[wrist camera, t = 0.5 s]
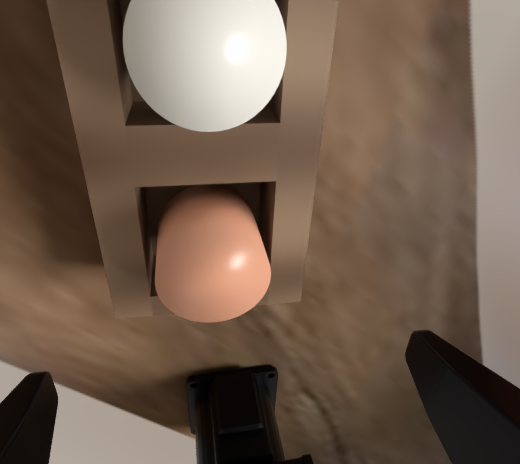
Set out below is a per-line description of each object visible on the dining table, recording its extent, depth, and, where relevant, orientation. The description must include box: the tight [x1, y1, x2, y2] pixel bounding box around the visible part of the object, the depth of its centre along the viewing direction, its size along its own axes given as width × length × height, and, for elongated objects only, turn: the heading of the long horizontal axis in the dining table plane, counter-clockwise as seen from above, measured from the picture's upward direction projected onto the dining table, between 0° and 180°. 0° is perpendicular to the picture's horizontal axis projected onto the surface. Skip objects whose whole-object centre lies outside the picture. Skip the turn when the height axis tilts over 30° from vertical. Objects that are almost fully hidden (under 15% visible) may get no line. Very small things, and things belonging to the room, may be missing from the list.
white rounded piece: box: [123, 0, 287, 132], centre depth 12 cm, size 4×4×4 cm
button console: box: [46, 0, 339, 319], centre depth 17 cm, size 16×9×4 cm, turn 178°
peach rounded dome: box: [155, 185, 271, 323], centre depth 17 cm, size 4×4×4 cm
